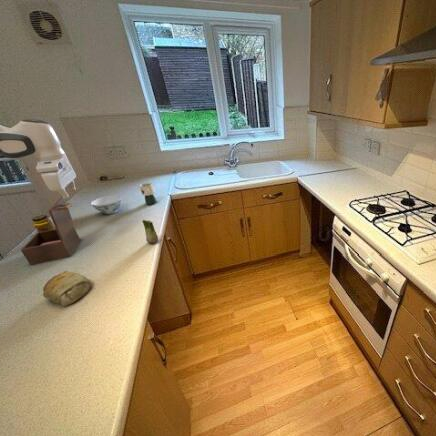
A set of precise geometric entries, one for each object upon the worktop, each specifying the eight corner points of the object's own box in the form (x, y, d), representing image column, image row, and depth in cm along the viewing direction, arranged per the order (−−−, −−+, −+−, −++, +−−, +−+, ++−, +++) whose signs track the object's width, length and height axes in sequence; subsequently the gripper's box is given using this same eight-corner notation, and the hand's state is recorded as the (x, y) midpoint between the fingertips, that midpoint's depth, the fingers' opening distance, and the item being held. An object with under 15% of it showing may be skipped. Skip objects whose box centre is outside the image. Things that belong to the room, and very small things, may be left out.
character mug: (144, 202, 160) (138, 183, 154) (155, 199, 163) (150, 181, 157) (146, 207, 152) (140, 188, 146) (159, 204, 156) (153, 185, 150)
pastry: (56, 286, 90) (46, 269, 86) (96, 276, 94) (88, 260, 91) (39, 313, 79) (26, 296, 75) (85, 301, 83) (75, 284, 79)
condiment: (40, 243, 116) (27, 221, 111) (44, 235, 123) (32, 214, 117) (59, 238, 120) (47, 217, 114) (63, 231, 126) (52, 211, 121)
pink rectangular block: (41, 255, 106) (37, 248, 105) (45, 249, 110) (42, 243, 108) (61, 251, 109) (58, 244, 107) (65, 246, 112) (61, 239, 111)
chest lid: (48, 210, 96) (62, 209, 98) (61, 197, 109) (73, 196, 111) (60, 241, 102) (73, 239, 104) (72, 225, 115) (83, 223, 117)
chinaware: (118, 204, 156) (114, 193, 153) (129, 210, 149) (125, 198, 145) (92, 213, 145) (86, 201, 142) (102, 219, 138) (97, 207, 134)
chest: (30, 265, 101) (20, 249, 98) (45, 246, 114) (36, 232, 110) (70, 256, 106) (62, 241, 103) (80, 239, 119) (73, 225, 115)
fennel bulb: (160, 242, 115) (153, 220, 110) (149, 246, 113) (141, 224, 107) (157, 238, 119) (150, 216, 114) (146, 241, 116) (138, 219, 111)
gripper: (54, 157, 104) (68, 187, 110) (33, 169, 88) (51, 204, 94) (72, 156, 106) (85, 185, 113) (55, 167, 90) (71, 201, 96)
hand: (70, 194), depth 103 cm, fingers open, 8 cm apart
